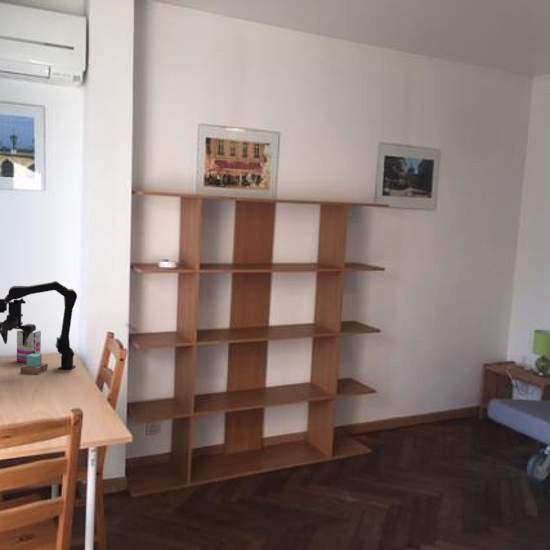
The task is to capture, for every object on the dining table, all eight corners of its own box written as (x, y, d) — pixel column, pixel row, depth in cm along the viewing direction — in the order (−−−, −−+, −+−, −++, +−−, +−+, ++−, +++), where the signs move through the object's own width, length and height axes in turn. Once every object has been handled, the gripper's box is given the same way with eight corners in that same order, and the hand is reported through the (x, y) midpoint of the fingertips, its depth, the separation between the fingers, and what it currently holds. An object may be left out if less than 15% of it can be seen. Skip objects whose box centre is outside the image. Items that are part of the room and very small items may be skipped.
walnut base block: (30, 368, 298) (30, 362, 297) (47, 369, 297) (47, 363, 296) (20, 372, 289) (20, 366, 288) (38, 374, 288) (38, 368, 287)
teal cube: (31, 363, 295) (32, 353, 295) (41, 364, 295) (41, 354, 294) (26, 366, 290) (26, 355, 290) (36, 366, 290) (36, 356, 289)
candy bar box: (41, 362, 310) (41, 330, 308) (34, 364, 305) (34, 332, 303) (22, 359, 313) (23, 328, 311) (16, 361, 308) (16, 330, 306)
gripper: (-14, 313, 282) (-14, 346, 283) (24, 316, 280) (24, 349, 281) (0, 310, 293) (0, 341, 294) (36, 312, 291) (36, 344, 292)
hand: (14, 344), depth 290 cm, fingers open, 9 cm apart
